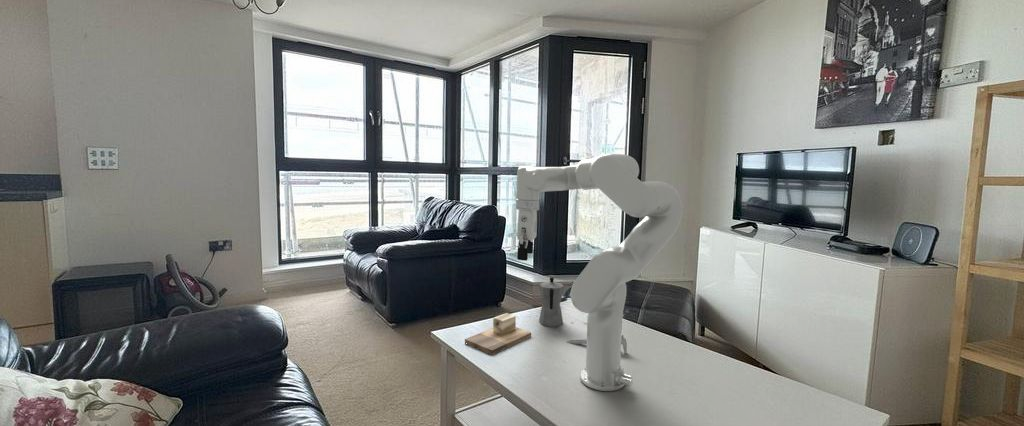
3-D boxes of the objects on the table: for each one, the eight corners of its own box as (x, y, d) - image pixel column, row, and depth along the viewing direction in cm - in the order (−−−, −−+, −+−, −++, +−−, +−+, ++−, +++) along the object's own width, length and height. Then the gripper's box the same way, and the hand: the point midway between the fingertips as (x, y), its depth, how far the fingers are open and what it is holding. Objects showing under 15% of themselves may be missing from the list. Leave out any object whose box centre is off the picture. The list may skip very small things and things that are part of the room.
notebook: (531, 336, 150) (531, 332, 150) (491, 354, 135) (491, 350, 135) (504, 327, 159) (504, 323, 159) (464, 343, 144) (464, 338, 144)
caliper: (626, 353, 138) (627, 335, 137) (625, 354, 137) (626, 336, 136) (567, 341, 147) (567, 324, 146) (566, 342, 146) (566, 325, 145)
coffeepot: (539, 316, 171) (540, 272, 169) (562, 316, 170) (563, 273, 168) (538, 330, 156) (538, 283, 154) (563, 331, 155) (564, 284, 153)
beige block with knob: (517, 328, 154) (517, 315, 153) (500, 335, 147) (500, 321, 147) (508, 325, 157) (508, 312, 156) (491, 332, 150) (491, 318, 150)
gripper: (534, 208, 126) (531, 264, 129) (543, 202, 143) (540, 251, 146) (510, 207, 128) (508, 261, 130) (521, 201, 145) (519, 249, 147)
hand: (525, 256), depth 138 cm, fingers open, 9 cm apart
